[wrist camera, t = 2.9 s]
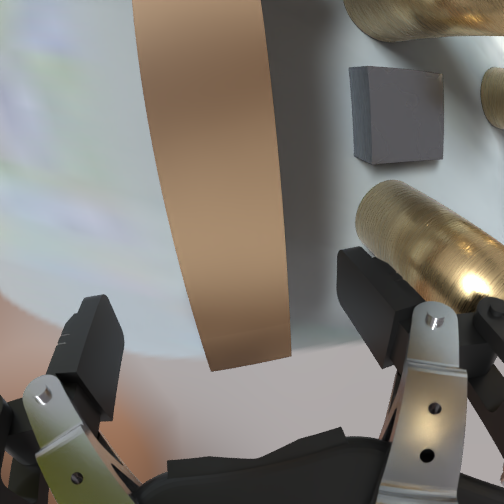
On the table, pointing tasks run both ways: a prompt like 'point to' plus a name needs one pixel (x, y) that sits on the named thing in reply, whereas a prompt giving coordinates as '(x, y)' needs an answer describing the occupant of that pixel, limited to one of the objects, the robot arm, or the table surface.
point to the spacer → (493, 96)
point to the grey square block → (396, 114)
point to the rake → (219, 170)
